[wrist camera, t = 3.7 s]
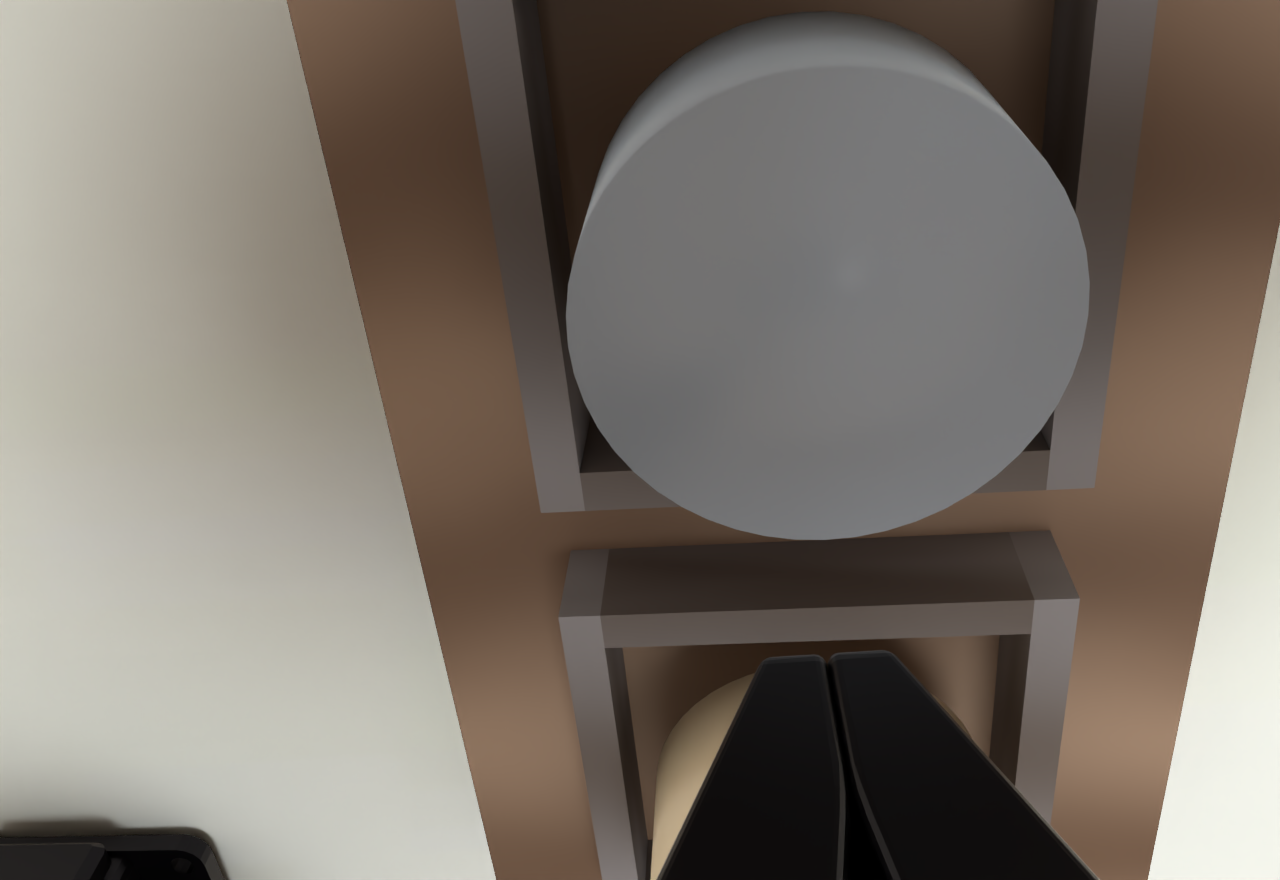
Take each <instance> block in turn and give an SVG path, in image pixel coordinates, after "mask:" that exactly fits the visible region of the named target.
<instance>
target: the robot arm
mask: <svg viewBox="0 0 1280 880" xmlns="http://www.w3.org/2000/svg"><path fill="white" fill-rule="evenodd" d="M0 880H224V877H223V875H222V873H221V870H220V868H219V866H218V863H217V861H216V858H215V856H214V854H213V851H212V849H211V848H210V847H209V845H208V844H207V843H205V842H204V841H203V840H201V839H199V838H197V837H194V836H190V835H136V836H79V837H22V838H0ZM656 880H1100V879H1099V878H1098V877H1097V876H1096V875H1095V874H1094V873H1093V871H1092V870H1091V869H1090V868H1089V867H1088V866H1087V865H1086V864H1085V863H1084V862H1083V861H1082V859H1081V858H1080V857H1079V856H1078V855H1077V854H1076V853H1075V852H1074V851H1073V850H1072V848H1071V847H1070V846H1069V845H1068V844H1067V843H1066V842H1065V841H1064V840H1063V839H1062V837H1061V836H1060V835H1059V834H1058V833H1057V832H1056V831H1055V830H1054V829H1053V828H1052V826H1051V825H1050V824H1049V823H1048V822H1047V821H1046V820H1045V819H1044V818H1043V817H1042V815H1041V814H1040V813H1039V812H1038V811H1037V810H1036V809H1035V808H1034V807H1033V806H1032V805H1031V803H1030V802H1029V801H1028V800H1027V799H1026V798H1025V797H1024V796H1023V795H1022V794H1021V792H1020V791H1019V790H1018V789H1017V788H1016V787H1015V786H1014V785H1013V784H1012V783H1011V781H1010V780H1009V779H1008V778H1007V777H1006V776H1005V775H1004V774H1003V773H1002V772H1001V770H1000V769H999V768H998V767H997V766H996V765H995V764H994V763H993V762H992V761H991V760H990V758H989V757H988V756H987V755H986V754H985V753H984V752H983V751H982V750H981V749H980V747H979V746H978V745H977V744H976V743H975V742H974V741H973V740H972V739H971V738H970V736H969V735H968V734H967V733H966V732H965V731H964V730H963V729H962V728H961V727H960V725H959V724H958V723H957V722H956V721H955V720H954V719H953V718H952V717H951V716H950V714H949V713H948V712H947V711H946V710H945V709H944V708H943V707H942V706H941V705H940V704H939V702H938V701H937V700H936V699H935V698H934V697H933V696H932V695H931V694H930V693H929V691H928V690H927V689H926V688H925V687H924V686H923V685H922V684H921V683H920V682H919V680H918V679H917V678H916V677H915V676H914V675H913V674H912V673H911V672H910V671H909V669H908V668H907V667H906V666H905V665H904V664H903V663H902V662H901V661H900V660H899V659H898V657H897V656H896V655H894V654H893V653H891V652H889V651H885V650H874V651H859V652H843V653H836V654H833V655H832V656H831V657H830V659H829V660H828V664H827V663H826V661H825V660H824V659H823V657H821V656H819V655H815V654H811V655H795V656H780V657H769V658H766V659H765V660H763V661H762V662H761V664H760V665H759V666H758V668H757V670H756V672H755V674H754V676H753V679H752V681H751V683H750V685H749V687H748V689H747V691H746V693H745V695H744V697H743V699H742V702H741V704H740V706H739V708H738V710H737V712H736V714H735V716H734V718H733V720H732V722H731V725H730V727H729V729H728V731H727V733H726V735H725V737H724V739H723V741H722V743H721V745H720V747H719V750H718V752H717V754H716V756H715V758H714V760H713V762H712V764H711V766H710V768H709V770H708V773H707V775H706V777H705V779H704V781H703V783H702V785H701V787H700V789H699V791H698V793H697V796H696V798H695V800H694V802H693V804H692V806H691V808H690V810H689V812H688V814H687V816H686V819H685V821H684V823H683V825H682V827H681V829H680V831H679V833H678V835H677V837H676V839H675V842H674V844H673V846H672V848H671V850H670V852H669V854H668V856H667V858H666V860H665V862H664V865H663V867H662V869H661V871H660V873H659V875H658V877H657V879H656Z"/></svg>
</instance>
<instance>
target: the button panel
mask: <svg viewBox="0 0 1280 880" xmlns="http://www.w3.org/2000/svg"><path fill="white" fill-rule="evenodd" d="M287 4H288V8H289V12H290V16H291V21H292V25H293V29H294V33H295V37H296V41H297V46H298V50H299V54H300V58H301V62H302V67H303V71H304V75H305V79H306V83H307V88H308V92H309V96H310V100H311V104H312V109H313V113H314V117H315V121H316V125H317V130H318V134H319V138H320V142H321V146H322V150H323V155H324V159H325V163H326V167H327V171H328V176H329V180H330V184H331V188H332V192H333V197H334V201H335V205H336V209H337V213H338V218H339V222H340V226H341V230H342V234H343V239H344V243H345V247H346V251H347V255H348V259H349V264H350V268H351V272H352V276H353V280H354V285H355V289H356V293H357V297H358V301H359V306H360V310H361V314H362V318H363V322H364V327H365V331H366V335H367V339H368V343H369V348H370V352H371V356H372V360H373V364H374V368H375V373H376V377H377V381H378V385H379V389H380V394H381V398H382V402H383V406H384V410H385V415H386V419H387V423H388V427H389V431H390V436H391V440H392V444H393V448H394V452H395V457H396V461H397V465H398V469H399V473H400V477H401V482H402V486H403V490H404V494H405V498H406V503H407V507H408V511H409V515H410V519H411V524H412V528H413V532H414V536H415V540H416V545H417V549H418V553H419V557H420V561H421V566H422V570H423V574H424V578H425V582H426V586H427V591H428V595H429V599H430V603H431V607H432V612H433V616H434V620H435V624H436V628H437V633H438V637H439V641H440V645H441V649H442V654H443V658H444V662H445V666H446V670H447V675H448V679H449V683H450V687H451V691H452V695H453V700H454V704H455V708H456V712H457V716H458V721H459V725H460V729H461V733H462V737H463V742H464V746H465V750H466V754H467V758H468V763H469V767H470V771H471V775H472V779H473V784H474V788H475V792H476V796H477V800H478V804H479V809H480V813H481V817H482V821H483V825H484V830H485V834H486V838H487V842H488V846H489V851H490V855H491V859H492V863H493V867H494V872H495V876H496V880H650V879H651V862H652V846H653V829H654V812H655V795H656V778H657V769H658V762H659V757H660V754H661V752H662V749H663V746H664V743H665V742H666V740H667V738H668V736H669V734H670V733H671V731H672V729H673V728H674V727H675V725H676V724H677V723H678V722H679V720H680V719H681V718H682V716H683V715H685V714H686V713H687V712H688V711H689V710H690V709H691V708H692V707H693V706H694V705H695V704H696V703H698V702H699V701H700V700H702V699H703V698H705V697H706V696H707V695H709V694H710V693H712V692H713V691H715V690H717V689H719V688H721V687H722V686H724V685H726V684H728V683H730V682H732V681H735V680H737V679H740V678H742V677H745V676H747V675H750V674H753V673H755V672H756V670H757V668H758V666H759V665H760V664H761V662H762V661H763V660H765V659H766V658H769V657H780V656H795V655H811V654H815V655H819V656H821V657H823V659H824V660H825V661H826V663H828V660H829V659H830V657H831V656H832V655H833V654H836V653H843V652H859V651H874V650H885V651H889V652H891V653H893V654H894V655H896V656H897V657H898V659H899V660H900V661H901V662H902V663H903V664H904V665H905V666H906V667H907V668H908V669H909V671H910V672H911V673H912V674H913V675H914V676H915V677H916V678H917V679H918V680H919V682H920V683H921V684H922V685H923V686H924V687H925V688H926V689H927V690H928V691H929V693H931V694H932V695H934V696H935V697H937V698H938V699H939V700H940V701H942V702H943V703H944V704H945V705H946V706H948V707H949V708H950V709H951V710H952V711H953V712H954V713H955V715H956V716H957V717H958V718H959V719H960V720H961V721H962V723H963V724H964V726H965V727H966V729H967V730H968V732H969V734H970V735H971V737H972V740H973V741H974V742H975V743H976V744H977V745H978V746H979V747H980V749H981V750H982V751H983V752H984V753H985V754H986V755H987V756H988V757H989V758H990V760H991V761H992V762H993V763H994V764H995V765H996V766H997V767H998V768H999V769H1000V770H1001V772H1002V773H1003V774H1004V775H1005V776H1006V777H1007V778H1008V779H1009V780H1010V781H1011V783H1012V784H1013V785H1014V786H1015V787H1016V788H1017V789H1018V790H1019V791H1020V792H1021V794H1022V795H1023V796H1024V797H1025V798H1026V799H1027V800H1028V801H1029V802H1030V803H1031V805H1032V806H1033V807H1034V808H1035V809H1036V810H1037V811H1038V812H1039V813H1040V814H1041V815H1042V817H1043V818H1044V819H1045V820H1046V821H1047V822H1048V823H1049V824H1050V825H1051V826H1052V828H1053V829H1054V830H1055V831H1056V832H1057V833H1058V834H1059V835H1060V836H1061V837H1062V839H1063V840H1064V841H1065V842H1066V843H1067V844H1068V845H1069V846H1070V847H1071V848H1072V850H1073V851H1074V852H1075V853H1076V854H1077V855H1078V856H1079V857H1080V858H1081V859H1082V861H1083V862H1084V863H1085V864H1086V865H1087V866H1088V867H1089V868H1090V869H1091V870H1092V871H1093V873H1094V874H1095V875H1096V876H1097V877H1098V878H1099V879H1100V880H1148V875H1149V870H1150V865H1151V860H1152V855H1153V850H1154V845H1155V840H1156V835H1157V830H1158V825H1159V820H1160V815H1161V810H1162V805H1163V800H1164V795H1165V790H1166V785H1167V780H1168V775H1169V770H1170V765H1171V760H1172V756H1173V751H1174V746H1175V741H1176V736H1177V731H1178V726H1179V721H1180V716H1181V711H1182V706H1183V701H1184V696H1185V691H1186V686H1187V681H1188V676H1189V671H1190V666H1191V661H1192V656H1193V651H1194V646H1195V641H1196V636H1197V631H1198V626H1199V621H1200V616H1201V611H1202V606H1203V601H1204V596H1205V591H1206V586H1207V581H1208V576H1209V571H1210V567H1211V562H1212V557H1213V552H1214V547H1215V542H1216V537H1217V532H1218V527H1219V522H1220V517H1221V512H1222V507H1223V502H1224V497H1225V492H1226V487H1227V482H1228V477H1229V472H1230V467H1231V462H1232V457H1233V452H1234V447H1235V442H1236V437H1237V432H1238V427H1239V422H1240V417H1241V412H1242V407H1243V402H1244V397H1245V392H1246V387H1247V383H1248V378H1249V373H1250V368H1251V363H1252V358H1253V353H1254V348H1255V343H1256V338H1257V333H1258V328H1259V323H1260V318H1261V313H1262V308H1263V303H1264V298H1265V293H1266V288H1267V283H1268V278H1269V273H1270V268H1271V263H1272V258H1273V253H1274V248H1275V243H1276V238H1277V233H1278V228H1279V223H1280V0H287ZM823 11H833V12H842V13H850V14H858V15H865V16H868V17H872V18H876V19H880V20H884V21H887V22H891V23H894V24H896V25H899V26H901V27H903V28H906V29H908V30H910V31H913V32H915V33H918V34H920V35H922V36H923V37H925V38H927V39H928V40H930V41H932V42H933V43H935V44H937V45H938V46H940V47H941V48H943V49H945V50H946V51H948V52H949V53H950V54H951V55H952V56H954V57H955V58H956V59H957V60H958V61H960V62H961V63H962V64H963V65H964V66H966V67H967V68H968V69H969V70H970V71H971V72H972V73H973V74H974V76H975V77H976V78H977V79H978V80H979V81H980V82H981V83H982V85H983V86H984V87H985V88H986V89H987V90H988V91H989V93H990V94H991V95H992V96H993V97H994V99H995V100H996V101H997V102H998V103H999V105H1000V106H1001V107H1002V108H1003V109H1004V111H1005V112H1006V113H1007V114H1008V115H1009V117H1010V118H1011V119H1012V120H1013V121H1014V123H1015V124H1016V125H1017V126H1018V127H1019V129H1020V130H1021V131H1022V132H1023V133H1024V135H1025V136H1026V137H1027V138H1028V139H1029V141H1030V142H1031V143H1032V144H1033V145H1034V147H1035V148H1036V149H1037V150H1038V151H1039V153H1040V154H1041V155H1042V156H1043V157H1044V159H1045V160H1046V161H1047V163H1048V164H1049V166H1050V167H1051V169H1052V170H1053V172H1054V173H1055V175H1056V177H1057V178H1058V180H1059V181H1060V183H1061V184H1062V186H1063V187H1064V189H1065V191H1066V193H1067V196H1068V198H1069V200H1070V202H1071V205H1072V207H1073V209H1074V211H1075V214H1076V216H1077V218H1078V221H1079V225H1080V229H1081V233H1082V236H1083V240H1084V244H1085V248H1086V252H1087V261H1088V271H1089V280H1090V290H1089V313H1088V319H1087V325H1086V330H1085V335H1084V341H1083V346H1082V349H1081V352H1080V355H1079V357H1078V360H1077V363H1076V366H1075V369H1074V372H1073V375H1072V377H1071V379H1070V381H1069V383H1068V385H1067V387H1066V389H1065V391H1064V393H1063V395H1062V397H1061V399H1060V401H1059V403H1058V405H1057V407H1056V408H1055V410H1054V411H1053V413H1052V414H1051V416H1050V417H1049V419H1048V420H1047V422H1046V423H1045V425H1044V426H1043V428H1042V429H1041V430H1040V432H1039V433H1038V434H1037V435H1036V436H1035V437H1034V439H1033V440H1032V441H1031V442H1030V443H1029V444H1028V445H1027V447H1026V448H1025V449H1024V450H1023V451H1022V452H1021V454H1020V455H1018V456H1017V457H1016V458H1015V459H1014V460H1013V461H1012V462H1011V463H1010V464H1009V465H1008V466H1006V467H1005V468H1004V469H1003V470H1002V471H1001V472H1000V473H999V474H998V475H997V476H995V477H994V478H992V479H991V480H990V481H988V482H987V483H986V484H984V485H983V486H981V487H980V488H979V489H977V490H976V491H975V492H973V493H972V494H970V495H968V496H967V497H965V498H963V499H961V500H960V501H958V502H956V503H954V504H953V505H951V506H949V507H947V508H946V509H944V510H941V511H939V512H937V513H934V514H932V515H930V516H927V517H925V518H923V519H921V520H918V521H916V522H913V523H910V524H907V525H903V526H900V527H897V528H894V529H891V530H887V531H883V532H878V533H873V534H868V535H863V536H858V537H851V538H840V539H830V540H794V539H785V538H777V537H768V536H762V535H758V534H754V533H749V532H745V531H741V530H736V529H733V528H730V527H727V526H725V525H722V524H719V523H716V522H713V521H710V520H708V519H705V518H703V517H701V516H699V515H697V514H695V513H693V512H691V511H689V510H687V509H685V508H683V507H681V506H679V505H678V504H676V503H675V502H673V501H672V500H670V499H668V498H667V497H665V496H664V495H662V494H661V493H659V492H657V491H656V490H655V489H654V488H652V487H651V486H650V485H649V484H648V483H646V482H645V481H644V480H643V479H642V478H640V477H639V476H638V475H637V474H636V473H634V472H633V471H632V469H631V468H630V467H629V466H628V465H627V464H626V463H625V462H624V461H623V460H622V459H621V458H620V457H619V456H618V455H617V453H616V452H615V451H614V450H613V449H612V447H611V446H610V444H609V443H608V442H607V440H606V439H605V437H604V436H603V435H602V433H601V432H600V430H599V429H598V427H597V426H596V424H595V422H594V420H593V418H592V416H591V414H590V412H589V411H588V409H587V407H586V405H585V403H584V401H583V398H582V395H581V392H580V390H579V387H578V384H577V381H576V379H575V376H574V372H573V367H572V363H571V358H570V353H569V349H568V340H567V326H566V306H567V293H568V283H569V278H570V274H571V269H572V265H573V260H574V256H575V252H576V248H577V245H578V241H579V238H580V235H581V231H582V228H583V224H584V221H585V217H586V214H587V210H588V207H589V204H590V200H591V197H592V193H593V190H594V186H595V183H596V179H597V176H598V173H599V170H600V167H601V164H602V162H603V159H604V156H605V154H606V151H607V148H608V146H609V144H610V142H611V140H612V138H613V136H614V134H615V132H616V131H617V129H618V127H619V125H620V123H621V121H622V120H623V118H624V117H625V115H626V114H627V113H628V111H629V110H630V108H631V107H632V106H633V104H634V103H635V101H636V100H637V99H638V97H639V96H640V95H641V94H642V93H643V92H644V91H645V90H646V89H647V87H648V86H649V85H650V84H651V83H652V82H653V81H654V80H655V79H656V78H657V77H658V76H659V75H660V74H661V73H662V72H663V71H665V70H666V69H667V68H668V67H669V66H671V65H672V64H673V63H674V62H676V61H677V60H678V59H679V58H681V57H682V56H683V55H684V54H686V53H688V52H689V51H691V50H692V49H694V48H696V47H697V46H699V45H701V44H702V43H704V42H705V41H707V40H709V39H710V38H713V37H715V36H717V35H719V34H722V33H724V32H726V31H728V30H731V29H733V28H735V27H737V26H740V25H743V24H746V23H750V22H753V21H757V20H760V19H763V18H767V17H771V16H777V15H784V14H790V13H797V12H823Z"/></svg>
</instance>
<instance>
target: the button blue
mask: <svg viewBox="0 0 1280 880" xmlns="http://www.w3.org/2000/svg"><path fill="white" fill-rule="evenodd" d="M1089 290H1090V280H1089V271H1088V261H1087V252H1086V248H1085V244H1084V240H1083V236H1082V233H1081V229H1080V225H1079V221H1078V218H1077V216H1076V214H1075V211H1074V209H1073V207H1072V205H1071V202H1070V200H1069V198H1068V196H1067V193H1066V191H1065V189H1064V187H1063V186H1062V184H1061V183H1060V181H1059V180H1058V178H1057V177H1056V175H1055V173H1054V172H1053V170H1052V169H1051V167H1050V166H1049V164H1048V163H1047V161H1046V160H1045V159H1044V157H1043V156H1042V155H1041V154H1040V153H1039V151H1038V150H1037V149H1036V148H1035V147H1034V145H1033V144H1032V143H1031V142H1030V141H1029V139H1028V138H1027V137H1026V136H1025V135H1024V133H1023V132H1022V131H1021V130H1020V129H1019V127H1018V126H1017V125H1016V124H1015V123H1014V121H1013V120H1012V119H1011V118H1010V117H1009V115H1008V114H1007V113H1006V112H1005V111H1004V109H1003V108H1002V107H1001V106H1000V105H999V103H998V102H997V101H996V100H995V99H994V97H993V96H992V95H991V94H990V93H989V91H988V90H987V89H986V88H985V87H984V86H983V85H982V83H981V82H980V81H979V80H978V79H977V78H976V77H975V76H974V74H973V73H972V72H971V71H970V70H969V69H968V68H967V67H966V66H964V65H963V64H962V63H961V62H960V61H958V60H957V59H956V58H955V57H954V56H952V55H951V54H950V53H949V52H948V51H946V50H945V49H943V48H941V47H940V46H938V45H937V44H935V43H933V42H932V41H930V40H928V39H927V38H925V37H923V36H922V35H920V34H918V33H915V32H913V31H910V30H908V29H906V28H903V27H901V26H899V25H896V24H894V23H891V22H887V21H884V20H880V19H876V18H872V17H868V16H865V15H858V14H850V13H842V12H833V11H823V12H797V13H790V14H784V15H777V16H771V17H767V18H763V19H760V20H757V21H753V22H750V23H746V24H743V25H740V26H737V27H735V28H733V29H731V30H728V31H726V32H724V33H722V34H719V35H717V36H715V37H713V38H710V39H709V40H707V41H705V42H704V43H702V44H701V45H699V46H697V47H696V48H694V49H692V50H691V51H689V52H688V53H686V54H684V55H683V56H682V57H681V58H679V59H678V60H677V61H676V62H674V63H673V64H672V65H671V66H669V67H668V68H667V69H666V70H665V71H663V72H662V73H661V74H660V75H659V76H658V77H657V78H656V79H655V80H654V81H653V82H652V83H651V84H650V85H649V86H648V87H647V89H646V90H645V91H644V92H643V93H642V94H641V95H640V96H639V97H638V99H637V100H636V101H635V103H634V104H633V106H632V107H631V108H630V110H629V111H628V113H627V114H626V115H625V117H624V118H623V120H622V121H621V123H620V125H619V127H618V129H617V131H616V132H615V134H614V136H613V138H612V140H611V142H610V144H609V146H608V148H607V151H606V154H605V156H604V159H603V162H602V164H601V167H600V170H599V173H598V176H597V179H596V183H595V186H594V190H593V193H592V197H591V200H590V204H589V207H588V210H587V214H586V217H585V221H584V224H583V228H582V231H581V235H580V238H579V241H578V245H577V248H576V252H575V256H574V260H573V265H572V269H571V274H570V278H569V283H568V293H567V306H566V326H567V340H568V349H569V353H570V358H571V363H572V367H573V372H574V376H575V379H576V381H577V384H578V387H579V390H580V392H581V395H582V398H583V401H584V403H585V405H586V407H587V409H588V411H589V412H590V414H591V416H592V418H593V420H594V422H595V424H596V426H597V427H598V429H599V430H600V432H601V433H602V435H603V436H604V437H605V439H606V440H607V442H608V443H609V444H610V446H611V447H612V449H613V450H614V451H615V452H616V453H617V455H618V456H619V457H620V458H621V459H622V460H623V461H624V462H625V463H626V464H627V465H628V466H629V467H630V468H631V469H632V471H633V472H634V473H636V474H637V475H638V476H639V477H640V478H642V479H643V480H644V481H645V482H646V483H648V484H649V485H650V486H651V487H652V488H654V489H655V490H656V491H657V492H659V493H661V494H662V495H664V496H665V497H667V498H668V499H670V500H672V501H673V502H675V503H676V504H678V505H679V506H681V507H683V508H685V509H687V510H689V511H691V512H693V513H695V514H697V515H699V516H701V517H703V518H705V519H708V520H710V521H713V522H716V523H719V524H722V525H725V526H727V527H730V528H733V529H736V530H741V531H745V532H749V533H754V534H758V535H762V536H768V537H777V538H785V539H794V540H830V539H840V538H851V537H858V536H863V535H868V534H873V533H878V532H883V531H887V530H891V529H894V528H897V527H900V526H903V525H907V524H910V523H913V522H916V521H918V520H921V519H923V518H925V517H927V516H930V515H932V514H934V513H937V512H939V511H941V510H944V509H946V508H947V507H949V506H951V505H953V504H954V503H956V502H958V501H960V500H961V499H963V498H965V497H967V496H968V495H970V494H972V493H973V492H975V491H976V490H977V489H979V488H980V487H981V486H983V485H984V484H986V483H987V482H988V481H990V480H991V479H992V478H994V477H995V476H997V475H998V474H999V473H1000V472H1001V471H1002V470H1003V469H1004V468H1005V467H1006V466H1008V465H1009V464H1010V463H1011V462H1012V461H1013V460H1014V459H1015V458H1016V457H1017V456H1018V455H1020V454H1021V452H1022V451H1023V450H1024V449H1025V448H1026V447H1027V445H1028V444H1029V443H1030V442H1031V441H1032V440H1033V439H1034V437H1035V436H1036V435H1037V434H1038V433H1039V432H1040V430H1041V429H1042V428H1043V426H1044V425H1045V423H1046V422H1047V420H1048V419H1049V417H1050V416H1051V414H1052V413H1053V411H1054V410H1055V408H1056V407H1057V405H1058V403H1059V401H1060V399H1061V397H1062V395H1063V393H1064V391H1065V389H1066V387H1067V385H1068V383H1069V381H1070V379H1071V377H1072V375H1073V372H1074V369H1075V366H1076V363H1077V360H1078V357H1079V355H1080V352H1081V349H1082V346H1083V341H1084V335H1085V330H1086V325H1087V319H1088V313H1089Z"/></svg>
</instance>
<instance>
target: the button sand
mask: <svg viewBox="0 0 1280 880" xmlns="http://www.w3.org/2000/svg"><path fill="white" fill-rule="evenodd" d="M827 664H828V663H827ZM754 674H755V673H753V674H750V675H747V676H745V677H742V678H740V679H737V680H735V681H732V682H730V683H728V684H726V685H724V686H722V687H721V688H719V689H717V690H715V691H713V692H712V693H710V694H709V695H707V696H706V697H705V698H703V699H702V700H700V701H699V702H698V703H696V704H695V705H694V706H693V707H692V708H691V709H690V710H689V711H688V712H687V713H686V714H685V715H683V716H682V718H681V719H680V720H679V722H678V723H677V724H676V725H675V727H674V728H673V729H672V731H671V733H670V734H669V736H668V738H667V740H666V742H665V743H664V746H663V749H662V752H661V754H660V757H659V762H658V769H657V778H656V795H655V812H654V829H653V846H652V862H651V879H650V880H656V879H657V877H658V875H659V873H660V871H661V869H662V867H663V865H664V862H665V860H666V858H667V856H668V854H669V852H670V850H671V848H672V846H673V844H674V842H675V839H676V837H677V835H678V833H679V831H680V829H681V827H682V825H683V823H684V821H685V819H686V816H687V814H688V812H689V810H690V808H691V806H692V804H693V802H694V800H695V798H696V796H697V793H698V791H699V789H700V787H701V785H702V783H703V781H704V779H705V777H706V775H707V773H708V770H709V768H710V766H711V764H712V762H713V760H714V758H715V756H716V754H717V752H718V750H719V747H720V745H721V743H722V741H723V739H724V737H725V735H726V733H727V731H728V729H729V727H730V725H731V722H732V720H733V718H734V716H735V714H736V712H737V710H738V708H739V706H740V704H741V702H742V699H743V697H744V695H745V693H746V691H747V689H748V687H749V685H750V683H751V681H752V679H753V676H754ZM930 694H931V693H930ZM931 695H932V694H931ZM932 696H933V697H934V698H935V699H936V700H937V701H938V702H939V704H940V705H941V706H942V707H943V708H944V709H945V710H946V711H947V712H948V713H949V714H950V716H951V717H952V718H953V719H954V720H955V721H956V722H957V723H958V724H959V725H960V727H961V728H962V729H963V730H964V731H965V732H966V733H967V734H968V735H969V736H970V738H971V739H972V737H971V735H970V734H969V732H968V730H967V729H966V727H965V726H964V724H963V723H962V721H961V720H960V719H959V718H958V717H957V716H956V715H955V713H954V712H953V711H952V710H951V709H950V708H949V707H948V706H946V705H945V704H944V703H943V702H942V701H940V700H939V699H938V698H937V697H935V696H934V695H932Z"/></svg>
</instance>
